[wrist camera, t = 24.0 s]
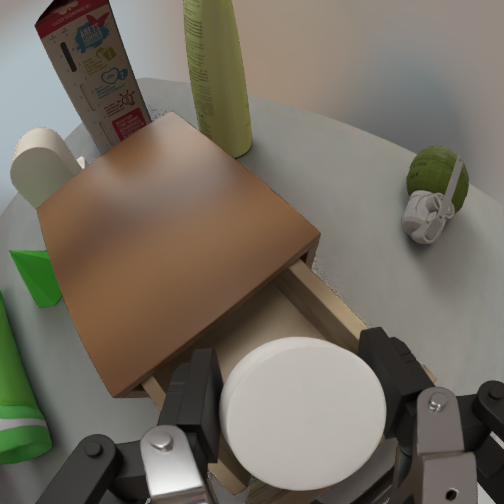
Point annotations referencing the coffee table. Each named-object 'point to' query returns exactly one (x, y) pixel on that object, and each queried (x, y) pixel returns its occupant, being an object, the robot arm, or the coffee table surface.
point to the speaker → (17, 404)
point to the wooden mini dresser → (164, 247)
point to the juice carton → (94, 68)
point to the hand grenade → (434, 192)
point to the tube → (217, 74)
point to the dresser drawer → (263, 331)
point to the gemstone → (38, 276)
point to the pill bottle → (302, 413)
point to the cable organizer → (42, 165)
